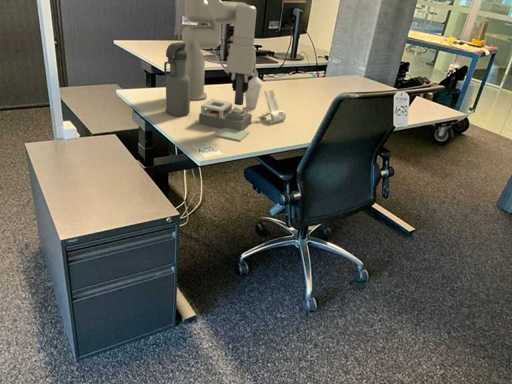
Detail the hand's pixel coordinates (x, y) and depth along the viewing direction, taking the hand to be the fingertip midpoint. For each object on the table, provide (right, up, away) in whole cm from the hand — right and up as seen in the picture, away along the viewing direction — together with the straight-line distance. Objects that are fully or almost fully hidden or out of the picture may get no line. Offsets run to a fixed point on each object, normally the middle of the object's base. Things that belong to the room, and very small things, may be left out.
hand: (239, 90), depth 164 cm
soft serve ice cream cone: (+4, -1, +31) cm, 31 cm away
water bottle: (-27, -6, +14) cm, 31 cm away
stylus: (-1, -5, +2) cm, 5 cm away
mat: (-3, -17, -2) cm, 18 cm away
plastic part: (+13, -8, +19) cm, 24 cm away
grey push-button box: (-6, -11, +8) cm, 15 cm away
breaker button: (-10, -10, +9) cm, 17 cm away
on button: (-1, -8, +4) cm, 9 cm away
